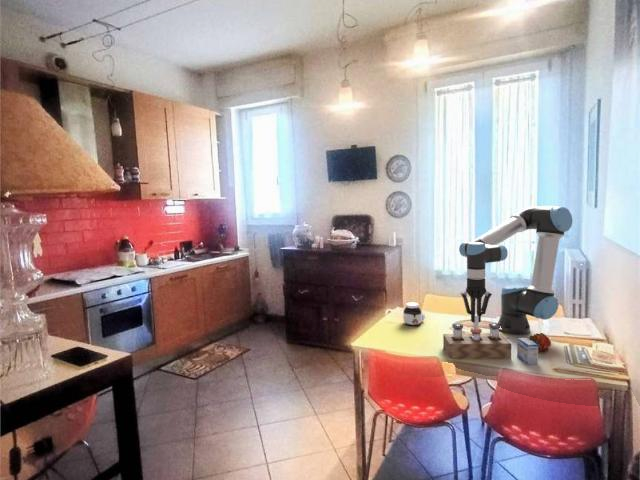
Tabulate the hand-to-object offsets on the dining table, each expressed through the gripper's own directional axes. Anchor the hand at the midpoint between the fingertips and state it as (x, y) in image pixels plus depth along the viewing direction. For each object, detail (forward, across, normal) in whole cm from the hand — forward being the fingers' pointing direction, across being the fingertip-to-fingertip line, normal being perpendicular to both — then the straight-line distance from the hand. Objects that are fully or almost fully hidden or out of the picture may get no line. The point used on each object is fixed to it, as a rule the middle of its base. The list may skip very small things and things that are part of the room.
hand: (475, 329), depth 171 cm
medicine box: (+12, -19, +8) cm, 24 cm away
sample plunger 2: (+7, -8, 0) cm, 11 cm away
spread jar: (+12, +21, -42) cm, 48 cm away
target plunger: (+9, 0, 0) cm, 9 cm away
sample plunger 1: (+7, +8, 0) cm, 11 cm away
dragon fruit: (+12, -29, -4) cm, 32 cm away
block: (+12, 0, 0) cm, 12 cm away
